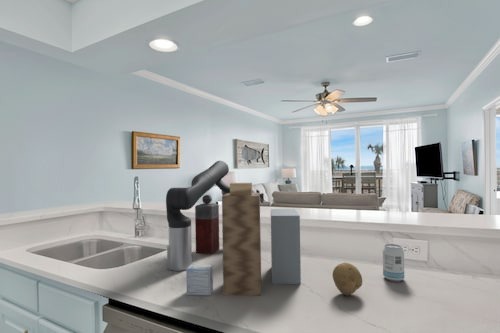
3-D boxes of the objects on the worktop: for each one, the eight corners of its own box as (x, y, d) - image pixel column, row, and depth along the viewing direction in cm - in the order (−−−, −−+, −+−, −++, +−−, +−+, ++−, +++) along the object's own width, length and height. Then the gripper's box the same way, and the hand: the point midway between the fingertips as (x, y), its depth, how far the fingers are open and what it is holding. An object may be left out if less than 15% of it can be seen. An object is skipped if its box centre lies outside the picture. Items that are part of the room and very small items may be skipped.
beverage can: (404, 277, 104) (403, 244, 104) (404, 284, 98) (403, 249, 98) (383, 274, 107) (383, 242, 108) (382, 280, 101) (382, 247, 101)
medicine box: (213, 290, 96) (212, 264, 96) (210, 296, 91) (209, 269, 91) (190, 289, 96) (190, 264, 96) (186, 295, 92) (185, 268, 92)
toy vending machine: (221, 248, 146) (220, 193, 146) (212, 254, 136) (211, 196, 136) (205, 247, 149) (204, 193, 149) (195, 253, 138) (194, 195, 138)
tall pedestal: (223, 295, 92) (222, 196, 92) (228, 280, 104) (227, 193, 104) (260, 295, 91) (258, 195, 91) (261, 280, 103) (259, 192, 103)
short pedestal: (272, 283, 100) (271, 215, 101) (271, 267, 117) (270, 209, 117) (300, 283, 100) (299, 215, 100) (295, 267, 116) (295, 208, 116)
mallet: (251, 195, 92) (251, 183, 93) (230, 195, 93) (229, 183, 93) (254, 190, 112) (253, 180, 112) (236, 191, 113) (236, 180, 113)
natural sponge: (348, 286, 97) (347, 257, 97) (369, 297, 89) (368, 265, 89) (327, 291, 93) (326, 261, 93) (347, 303, 85) (346, 270, 85)
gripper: (235, 198, 144) (232, 184, 130) (263, 198, 144) (263, 184, 130) (235, 212, 140) (231, 199, 127) (264, 212, 140) (263, 199, 126)
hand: (247, 191), depth 128 cm, fingers open, 8 cm apart
